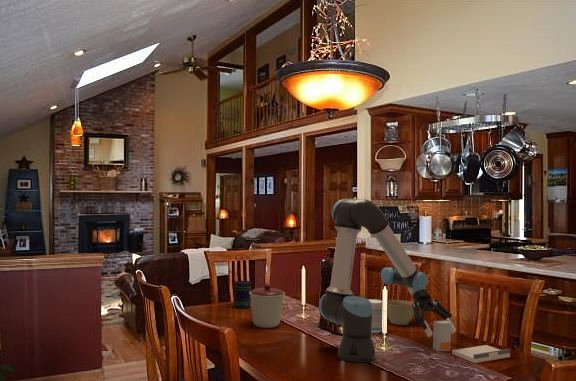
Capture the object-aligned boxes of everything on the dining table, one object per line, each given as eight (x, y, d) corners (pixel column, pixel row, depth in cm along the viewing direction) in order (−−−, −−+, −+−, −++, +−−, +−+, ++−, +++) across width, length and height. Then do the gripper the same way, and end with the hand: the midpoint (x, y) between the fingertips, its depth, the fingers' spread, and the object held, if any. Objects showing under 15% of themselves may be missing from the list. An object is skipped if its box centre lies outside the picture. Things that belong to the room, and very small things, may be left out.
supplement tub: (387, 332, 229) (387, 301, 229) (372, 334, 224) (373, 303, 224) (373, 327, 237) (373, 298, 238) (359, 330, 232) (359, 300, 232)
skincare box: (438, 351, 200) (438, 323, 200) (432, 348, 204) (433, 321, 204) (450, 351, 201) (451, 322, 202) (445, 348, 205) (445, 320, 206)
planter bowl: (421, 326, 243) (422, 304, 243) (395, 328, 237) (395, 306, 237) (403, 318, 258) (403, 298, 258) (378, 320, 252) (378, 300, 252)
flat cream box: (475, 363, 186) (475, 355, 186) (452, 354, 197) (452, 346, 197) (510, 357, 195) (510, 349, 195) (486, 348, 206) (486, 341, 206)
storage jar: (254, 307, 278) (254, 281, 278) (244, 310, 269) (244, 283, 270) (240, 304, 283) (241, 280, 283) (230, 307, 275) (231, 282, 275)
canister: (243, 328, 230) (244, 285, 230) (254, 319, 247) (255, 279, 248) (279, 331, 225) (280, 287, 226) (288, 322, 243) (289, 281, 243)
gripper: (435, 295, 225) (458, 335, 212) (394, 299, 214) (416, 341, 201) (443, 286, 221) (468, 326, 207) (401, 289, 210) (425, 332, 196)
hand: (442, 334), depth 204 cm, fingers open, 13 cm apart
